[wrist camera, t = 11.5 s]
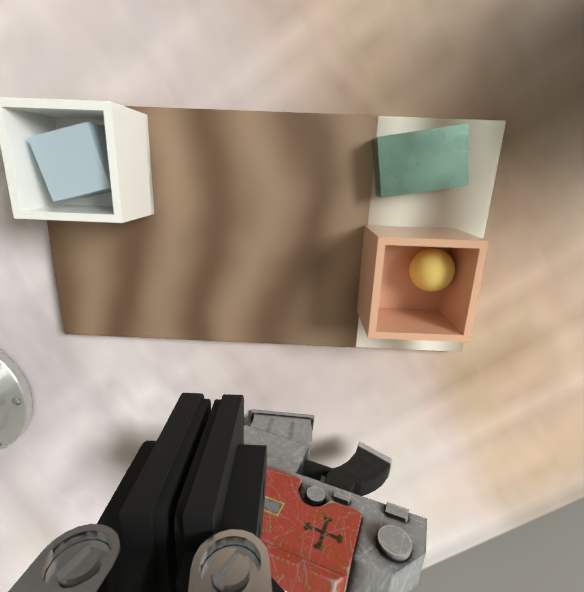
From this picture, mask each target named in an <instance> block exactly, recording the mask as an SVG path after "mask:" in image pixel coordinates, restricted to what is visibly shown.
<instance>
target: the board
mask: <svg viewBox="0 0 584 592" xmlns="http://www.w3.org/2000/svg"><path fill="white" fill-rule="evenodd" d="M125 107H128V108H130V109H133V110H136V111H138V112H141V113H144V114H147V119H148V133H149V147H150V161H151V175H152V189H153V203H154V214H152V215H149V216H145V217H142V218H138V219H135V220H131V221H128V222H124V223H111V222H87V221H63V220H47V223H48V229H49V236H50V242H51V248H52V255H53V261H54V267H55V274H56V280H57V287H58V293H59V299H60V306H61V312H62V318H63V325H64V331H65V334H77V335H99V336H121V337H143V338H165V339H187V340H209V341H231V342H253V343H274V344H296V345H318V346H340V347H368V348H390V349H412V350H434V351H456V352H462V348H463V343H464V342H451V341H426V340H400V339H375V338H368V337H367V335H366V332H365V330H364V328H363V325H362V323H361V320H360V318H359V315H358V313H357V301H358V290H359V279H360V268H361V257H362V246H363V236H364V225H370V226H396V227H423V228H450V229H458V230H460V231H463V232H466V233H469V234H471V235H474V236H477V237H480V238H482V239H484V234H485V228H486V223H487V218H488V213H489V208H490V202H491V197H492V192H493V187H494V182H495V176H496V171H497V166H498V161H499V156H500V150H501V145H502V140H503V135H504V130H505V124H506V121H500V120H474V119H447V118H421V117H394V116H371V115H344V114H318V113H291V112H265V111H239V110H212V109H186V108H159V107H133V106H125ZM467 123H469V131H468V186H462V187H455V188H448V189H441V190H434V191H426V192H419V193H412V194H405V195H398V196H390V197H383V198H381V197H377V196H376V190H375V175H374V160H373V146H372V139H374V138H376V137H380V136H386V135H393V134H400V133H407V132H413V131H420V130H427V129H434V128H440V127H447V126H454V125H461V124H467Z"/></svg>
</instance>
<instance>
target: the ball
mask: <svg viewBox="0 0 584 592" xmlns="http://www.w3.org/2000/svg"><path fill="white" fill-rule="evenodd" d="M409 274H410V277H411V280H412V281H413V283H414V284H415V285H416V286H417V287H419V288H420V289H422V290H425V291H439V290H441V289H443V288H445V287H447V286H448V285H449V284H450V283H451V281H452V280H453V278H454V275H455V263H454V261H453V259H452V257H451V256H450V255H449V254H448V253H447V252H445V251H443V250H441V249H437V248H428V249H425V250H422V251H420V252H419V253H417V254H416V255H415V256H414V258H413V259H412V261H411V263H410V267H409Z"/></svg>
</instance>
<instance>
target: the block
mask: <svg viewBox="0 0 584 592" xmlns="http://www.w3.org/2000/svg"><path fill="white" fill-rule="evenodd" d="M27 138H28V140H29V143H30V145H31V148H32V150H33V153H34V155H35V158H36V160H37V163H38V165H39V168H40V170H41V172H42V175H43V177H44V180H45V182H46V185H47V187H48V190H49V192H50V195H51V197H52V200H53V202H55V201H64V200H72V199H80V198H87V197H91V196H95V195H100V194H104V193H108V192H112V190H111V181H110V171H109V161H108V152H107V142H106V132H105V126H103V125H98V124H94V123H90V122H84V123H80V124H77V125H73V126H69V127H65V128H61V129H58V130H54V131H50V132H46V133H43V134H39V135H35V136H31V137H27Z"/></svg>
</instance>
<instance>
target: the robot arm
mask: <svg viewBox="0 0 584 592" xmlns="http://www.w3.org/2000/svg"><path fill="white" fill-rule="evenodd" d="M32 407H33V403H32V396H31V392H30V389H29V386H28V383H27V381H26V379H25V378H24V376H23V374H22V373H21V371H20V370H19V368H18V367H17V366H16V365H15V364H14V362H13V361H12V360H11V359H10V358H9V357H7V356H6V355H5V354H4V353H3V352H2V351H0V450H1V449H3V448H6V447H7V446H8V445H10V444H11V443H13V442H14V441H15V440H16V439H17V438H18V437H19V436H20V435H21V434H22V433H23V432H24V431H25V429H26V428H27V426H28V425H29V422H30V419H31V416H32ZM266 470H267V445H244V397H243V395H225V394H224V395H223V396H222V399H221V400H218V399H216V400H215V401H214V404H213V407H212V409H211V401H210V399H204V395H203V394H200V393H182V394H181V396H180V398H179V400H178V402H177V404H176V405H175V407H174V409H173V411H172V413H171V415H170V417H169V419H168V421H167V423H166V425H165V426H164V428H163V430H162V432H161V434H160V436H159V438H158V440H157V441H146V442H144V443H143V445H142V446H141V447H140V449H139V451H138V453H137V454H136V456H135V458H134V460H133V461H132V463H131V465H130V467H129V468H128V470H127V472H126V474H125V475H124V477H123V479H122V481H121V482H120V484H119V486H118V488H117V489H116V491H115V493H114V495H113V496H112V498H111V500H110V502H109V503H108V505H107V507H106V509H105V510H104V512H103V514H102V516H101V517H100V519H99V521H98V523H97V524H88V525H83V526H79V527H76V528H74V529H72V530H69V531H67V532H65V533H64V534H62V535H61V536H59V537H58V538H56V539H55V540H53V541H52V542H51V543H50V544H49V545H48V546H47V547H46V548H45V549H44V550H43V551H42V552H41V553H40V555H39V556H38V557H37V558H36V559H35V560H34V562H33V563H32V564H31V565H30V566H29V568H28V569H27V570H26V571H25V572H24V574H23V575H22V576H21V577H20V578H19V580H18V581H17V582H16V583H15V584H14V585H13V587H12V588H11V589H10V590H9V591H8V592H285V591H284V590H283V589H282V588H281V587H280V586H279V585H278V583H277V582H276V581H275V580H274V579H273V578H272V577H271V571H270V560H269V556H268V552H267V548H266V547H265V545H264V544H263V542H262V541H261V534H262V523H263V513H264V503H265V490H266Z"/></svg>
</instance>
